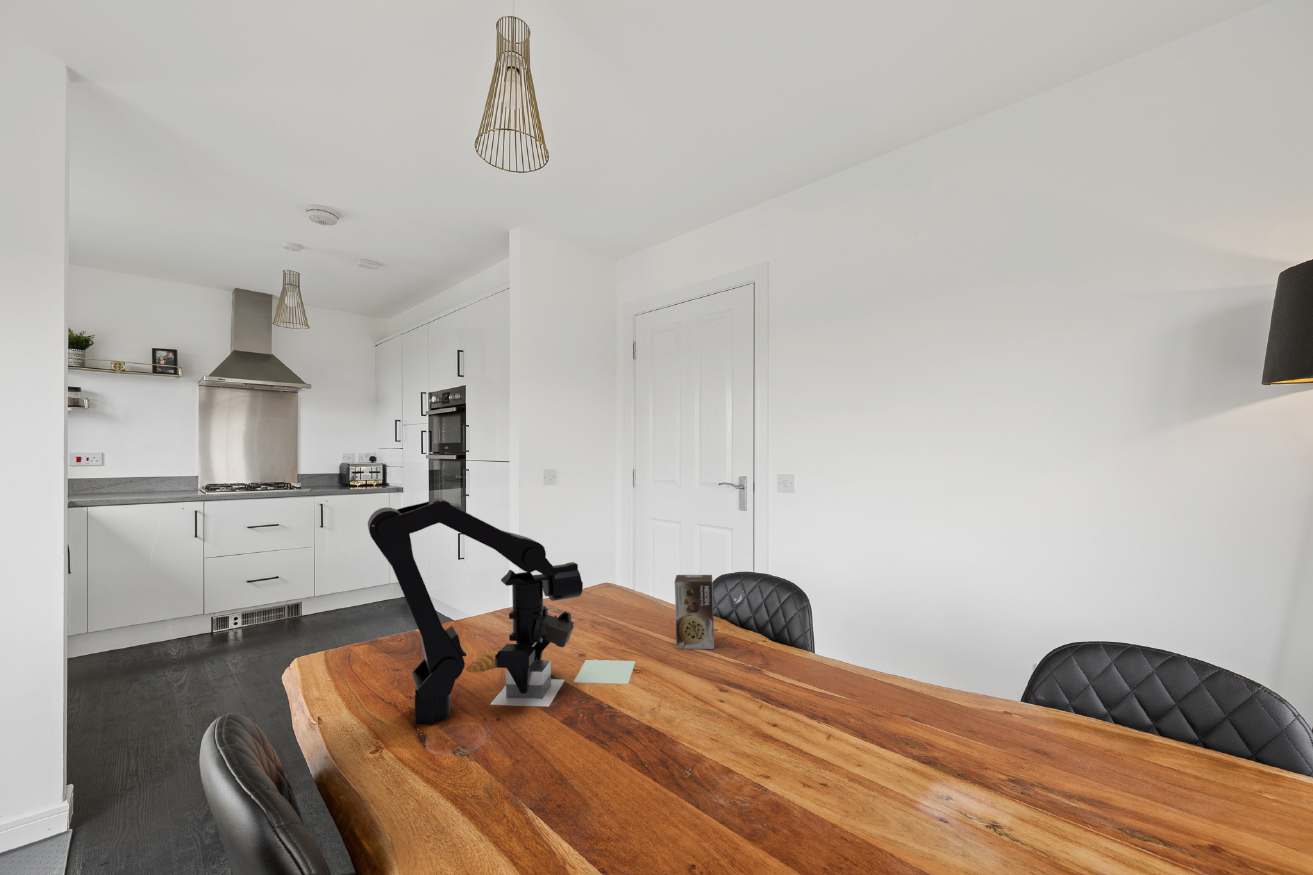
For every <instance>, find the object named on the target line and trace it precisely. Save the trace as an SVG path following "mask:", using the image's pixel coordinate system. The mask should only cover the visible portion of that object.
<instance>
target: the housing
mask: <svg viewBox="0 0 1313 875" xmlns="http://www.w3.org/2000/svg"><path fill="white" fill-rule="evenodd" d="M551 679H552V660H551V659H541V660H536V661H535V663H534V664H533V665H532V666H531V667H530V675H529V682H528V689H527V693H526V694H522V693H520V691H519V689H518V687H517V685H516V683H515V682H514V680H513V678H512V676H511V674H510V673H509V671H508V670H507V669H506V670H505V686H506V698H532V699H543V697H544V696H545V694H546V693H547V691H548V690H549V688H550V687H551Z"/></svg>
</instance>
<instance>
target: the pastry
mask: <svg viewBox="0 0 1313 875" xmlns="http://www.w3.org/2000/svg"><path fill="white" fill-rule="evenodd" d="M501 649H502V648H500V649H495V651H489V652H488V653H484V654H482V655H481V656H480V657H479V658H478V659H476V660H473V661H472V662H471V663H470V664H469V665H468V666H467V667H466V671H467V672H468V673H471V674H472V673H479V672H480V673H481V672H486V671H489V670H492V669H497V667H495V655H496V654H497V653H498V652H499V651H500V650H501Z"/></svg>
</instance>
